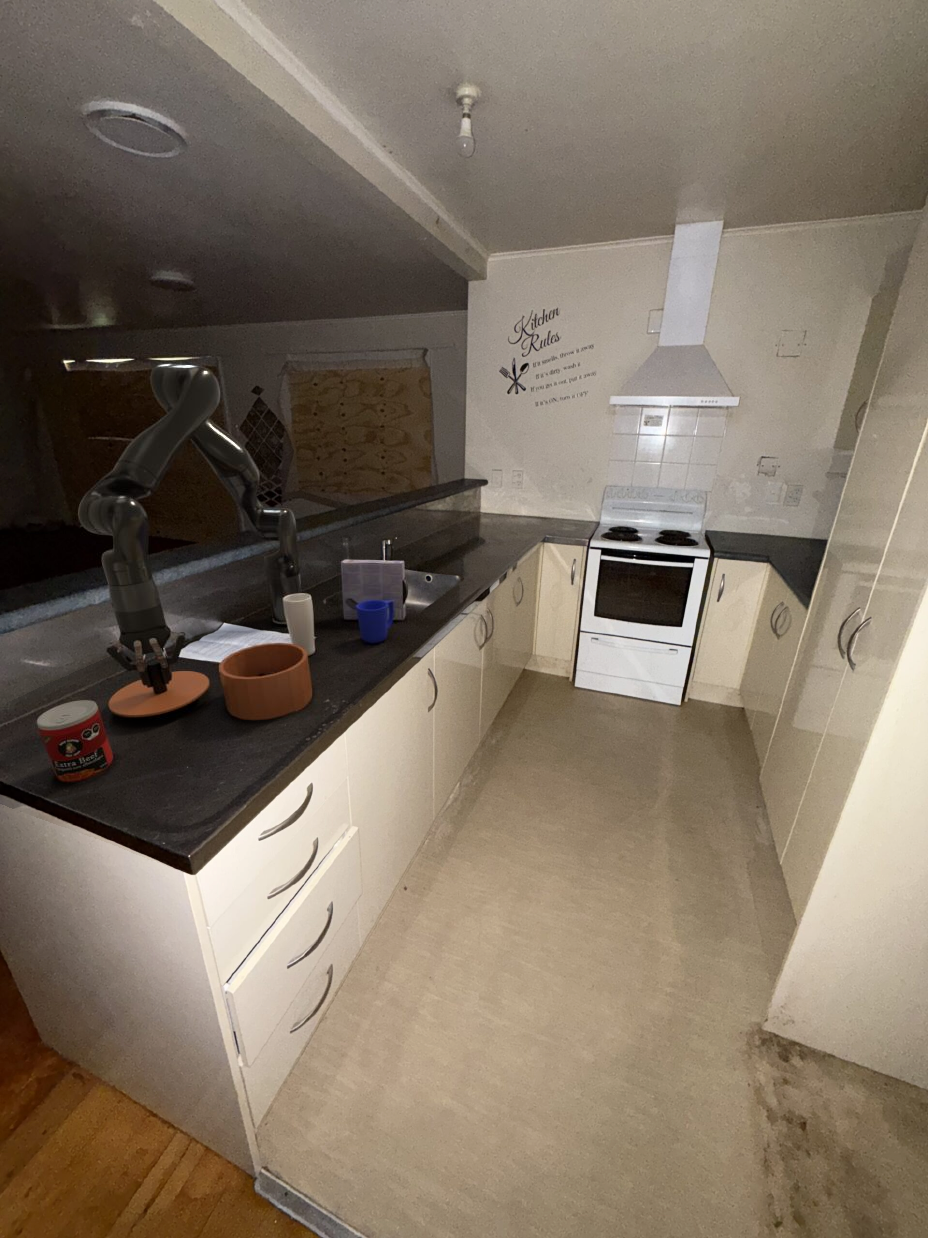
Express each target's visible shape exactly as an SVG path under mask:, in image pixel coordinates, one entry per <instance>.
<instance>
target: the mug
mask: <svg viewBox="0 0 928 1238" xmlns="http://www.w3.org/2000/svg"><path fill="white" fill-rule="evenodd" d="M388 604H389V620H388ZM356 609H357V615H358V624H359V625H358V626H359V631H360V637H361V639H362V641H363V642H365V643H368V644H378V643H381V642H384V641H385V640H386V639H387V637H388V629H390V627H391V626H393V625H392V624H393V621H394V620H393V610H394V603H393V601H392V600H387V601H381V600H368V601H363V602H360V603H358V604H357V605H356Z"/></svg>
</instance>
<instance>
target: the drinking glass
mask: <svg viewBox="0 0 928 1238" xmlns="http://www.w3.org/2000/svg"><path fill="white" fill-rule="evenodd" d="M283 607H284V613H285V618H286V622H287V625H286V626H287V630H288V634H289V639H290V644H294V645H298V646H301V647H302V648H304V649H305V650H306V652H307V655H308V657H309V656H312V655H313V654H315V652H316V645H315V644H316V643H315V620H314V619H315V618H314V614H315V613H314V605H313V599H312V596H311V594H309V593H304V592H302V593H297V594H291V595H288V596H285V597H284V598H283Z"/></svg>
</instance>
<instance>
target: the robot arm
mask: <svg viewBox="0 0 928 1238" xmlns="http://www.w3.org/2000/svg"><path fill="white" fill-rule="evenodd" d="M150 386H151V389H152V392H153V394H154V397H155V399H156V400H157V402H158V403H159V404H160V406H161V407H162V409H163V410H164V412H166V415H164V416H163V417H162V418H161V419H159V420H158V421H157V422H155V423H154V424H152V425H151V426H149V427H148V428H146V429H144V430H143V431H142V432H141V433H139V434H138V435H137V436H136V437H134V438H133V439H132V440H131V441H130V442H129V444H127V446H126V448H125V449H124V451H123V452H122V454H121V456H120V457H119V458H118V460H117V461H116V463H115V465H114V467H113V469H111V471H110V472H108V473H107V474H106V475H105V476H103V477H102V478H101V479H100V480H99V481H98V482H96V484H95V485H93V486H92V487H91V488H90V489H89V490H88V491H87V492H86V493H85V495H84V496H83V497H82V499H81V500H80V503H79V505H78V511H77V517H78V520H79V523H80V525H81V526H82V527H83V528H84V529H85V530H86V531H88V532H90V533H92V534H95V535H99V536H100V535H101V536H112V540H113V541H112V542H113V547H112V548H110V549H108V550H106V551H104V552H103V553H102V555H101V565H102V568H103V571H104V575H105V579H106V582H107V586H108V593H109V598H110V599H109V600H110V604H111V608H113V612H114V616H115V619H116V623H117V625H118V630H119V637H118V639H117V640H116V641H114V642H110V643H109V644H108V645H107V648H106V649H105V651H106V653H107V654H108V655H109V656H111V657H112V658H113V659H114V660H115V662H117V663H118V664H119V665H120V666H121V667H122V668H124V670H126V671H127V672H132V671H135V672H138V674H139V676H140V680H142V684H143V685H144V686H146V685H147V688H150V687H152V684H151V680H150V677H149V673H148V669H147V666H146V663H147V659H146V655H147V654H154V655H155V657H156V660H159V662H160V665H161V671H162V675H163V679H164V683H165V684H169V682H170V681H171V680H172V672H173V671H172V669H171V665H173V664H176V663H177V662H178V660H179V657H180V655H181V652H182V650H183V646H184V644H185V641H186V633H185V632H184V631H180V632H176V631H172V630H171V628H170V627H169V626H168V625H167V622H166V618H165V614H164V610H163V607H162V603H161V598H160V594H159V589H158V587H157V585H156V582H155V580H154V577H153V572H152V569H151V565H150V561H149V559H148V553H149V540H150V539H149V538H150V535H149V534H150V521H149V517H148V516H149V515H148V513H147V511H146V509H145V507H144V506H143V505H142V504H141V503H140V501H139V500H141V499H144V498H148V497H150V496H152V495H153V494H154V493H155V491H156V490H157V489H158V487H159V485H160V483H161V482H162V481H163V478H164V476H165V475H166V473H167V471H168V469H169V468H170V467H171V465H172V463H173V461H174V460H175V458H176V457H177V456H178V454H179V453H180V452H181V450H182V449H183V448H184V447H185V445H187V443H188V442H189V441H191V443H192V444H193V445H194V447H195V448H196V449H197V451H199V453H200V454H201V456H202V457H203V458H204V460H205V461H206V463H208V464H207V465H209V467H210V468H211V470H212V471H213V473H214V474H215V476H216V477H217V478H218V480H219V482H220V483H221V484H222V485H223V487H224V488H225V489H226V490H227V492H228V494H230V496H231V498H232V499H233V500H234V502H235V504H236V505H237V507H238V508H239V510H240V512H241V513H242V516H243V517H244V519H245V521H246V522H247V524H248V526H249V528H250V530H251V531H252V534H254V536H255V537H256V538H257V539H259V540H261V541H265V542H267V541H268V542H278V544H279V545H278V549H276V550H274V551H270V552H268V553H266V554H265V555H263V564H264V570H265V578H266V583H267V587H268V589H267V591H268V596H269V601H270V608H271V615H272V623H273V624H274V625H277V626H287V622H286V618H285V613H284V607H283V598H284V597H285V596H288V595H291V594H297V593H303V586H302V578H301V572H300V564H299V563H300V562H299V542H298V527H297V521H296V516H295V514H294V512H293V510H292V509H291V508H289V507H284V506H283V507H277V506H273V507H272V506H265V505H263V504H262V503H261V502H260V500H259V498H258V496H257V495H258V490H259V486H260V481H261V475H260V470H259V468H258V465H257V464H256V462H255V461H254V459H253V458H252V456H251V453H249V451H248V449H246V447H245V446H244V445H243V444H242V443H241V442H240V441H238V440H237V439H236V438H235V437H234V436H232V435H231V434H230V433H229V432H227V431H226V430H225V429H223V428H222V427H220V426H219V425H218V424H217V423H215V422H214V421H213V420H212V419H211V417H212V416H213V414H214V413H215V412H216V410H217V409H218V407H219V405H220V402H221V397H222V396H221V395H222V392H221V386H220V383H219V380H218V378H217V377H216V376H215V374H214V372H213V371H212V370H210V369H209V368H207V367H205V366H201V365H198V364H186V363H184V364H183V363H159V364H157V365H155V366H154V367H153V368H152V370H151V373H150ZM170 638H171V642H172V644H174V647H173V650H172V653H171V655H169V656H168V654H167V652H166V648H165V646H166V644H167V642H168V641H169V639H170ZM124 647H125V648H127V649H128V650H130V651H131V652H133V653H134V656H135V661H134V660H133V658H131V657H130V656H129V654H127V653H126V652H125V651H124Z"/></svg>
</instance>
